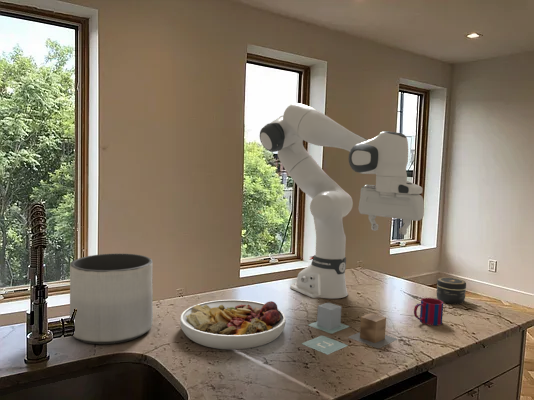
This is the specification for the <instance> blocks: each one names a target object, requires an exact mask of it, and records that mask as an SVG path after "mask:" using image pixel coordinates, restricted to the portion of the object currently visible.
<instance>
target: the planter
mask: <svg viewBox="0 0 534 400" xmlns="http://www.w3.org/2000/svg"><path fill="white" fill-rule="evenodd" d="M153 299H154V298H153V259H152V258H150V257H149V256H146V255H141V254H135V253H102V254H94V255H87V256H82V257H79V258H77V259H74V260H72V261H71V262H70V263H69V318H70V317H71V316H72V314H73V312H74V309H76V308H77V314H76V316H75V333H74V335H73V336H72V337H74V338H75V339H77V340H79V341H80V342H83V343H85V344H86V343H88V344H93V345H112V344H113V345H114V344H120V343H125V342H130V341H133V340H134V339H137V338H140V337H142V336H143V335H144V334H146V333H147V332H149V331H150V330H151V328H152V326H153V319H154V318H153V317H154V315H153V314H154V313H153V310H154V309H153V305H154V304H153V301H154V300H153Z"/></svg>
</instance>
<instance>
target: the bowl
mask: <svg viewBox="0 0 534 400" xmlns="http://www.w3.org/2000/svg"><path fill="white" fill-rule="evenodd" d="M179 321H180V324H179V325H180V327H181V328H180V329H181V331H182V332H183V333H184V335H185V336H186V337H187V338H188V339H190V340H191V341H193V342H194V343H196V344H199V345H201V346H204V347H208V348H211V349H219V350H232V351H233V350H240V349H241V350H242V349H243V350H245V349H251V348H256V347H261V346H263V345H266V344H267V345H268V344H269V343H272V342H273V341H275V340H276V339H278V337H280V335H281V334H282V333H283V331H284V329H285V327H286V315H285V313H284V312H283V311H282V310H280V309H279V308H278V304H277V302H275V301H270V300H269V301H267V302H265V303H264V302H259V301H253V300H247V299H218V300H211V301H205V302H201V303H197V304H194V305H192V306H190V307H188V308H186V309H185V310H184V311H183V312H182V313H181V314H180V318H179Z"/></svg>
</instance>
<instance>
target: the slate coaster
mask: <svg viewBox="0 0 534 400" xmlns="http://www.w3.org/2000/svg"><path fill="white" fill-rule="evenodd" d="M347 339H351V340H354V341H357V342H360V343H361V344H365V345H367V346H370V347H372V348H376V349H378V350H379V349H380V348H382V347H384V346H387V345H390V344H391V343H392V342H395V341H398V338H396V337H393V336H390V335H387V334H385V339H383V340H381V341H379V342H377V343H373V342H371V341H368V340H365V339H362V338H360V331H359V332H356V333H354V334H351V335H349V336H348V337H347Z"/></svg>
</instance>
